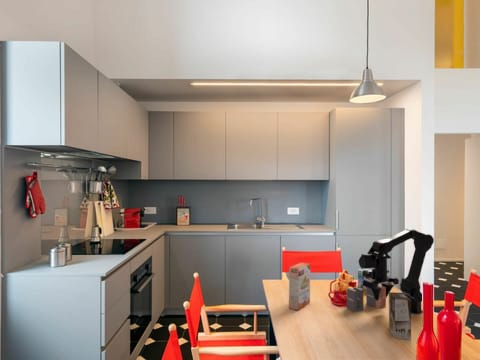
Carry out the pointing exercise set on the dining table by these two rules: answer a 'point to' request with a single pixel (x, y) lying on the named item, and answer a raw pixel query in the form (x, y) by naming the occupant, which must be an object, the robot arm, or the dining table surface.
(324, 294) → the dining table surface
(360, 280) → the light bulb box
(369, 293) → the domino
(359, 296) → the domino
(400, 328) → the coffee box
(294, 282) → the cracker box
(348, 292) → the domino
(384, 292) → the domino
